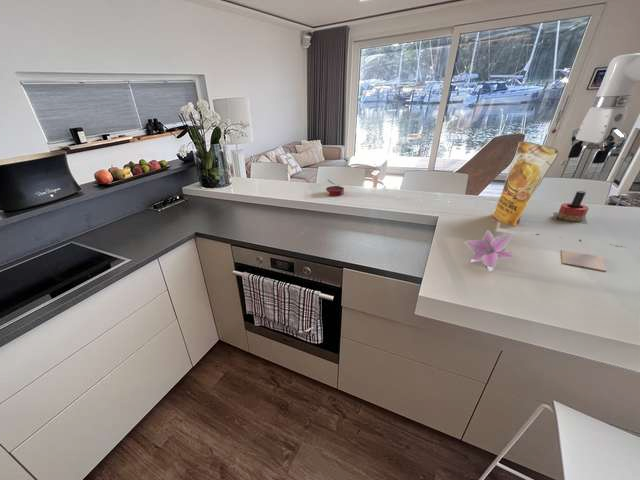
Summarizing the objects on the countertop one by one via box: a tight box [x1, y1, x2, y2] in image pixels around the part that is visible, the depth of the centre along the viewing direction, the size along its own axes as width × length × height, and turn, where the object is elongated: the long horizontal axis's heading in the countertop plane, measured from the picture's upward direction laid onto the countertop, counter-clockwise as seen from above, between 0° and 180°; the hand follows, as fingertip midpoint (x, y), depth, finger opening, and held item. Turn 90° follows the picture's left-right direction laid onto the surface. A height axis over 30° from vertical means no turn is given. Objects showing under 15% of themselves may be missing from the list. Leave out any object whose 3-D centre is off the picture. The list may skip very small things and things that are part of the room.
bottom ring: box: [557, 211, 586, 222], centre depth 106 cm, size 7×7×2 cm
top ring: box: [558, 202, 590, 216], centre depth 105 cm, size 7×7×2 cm
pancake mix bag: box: [492, 140, 559, 227], centre depth 105 cm, size 7×19×28 cm, turn 170°
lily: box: [464, 229, 515, 269], centre depth 86 cm, size 12×12×10 cm
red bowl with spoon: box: [325, 178, 345, 197], centre depth 159 cm, size 11×10×10 cm
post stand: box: [553, 190, 588, 225], centre depth 105 cm, size 9×9×11 cm
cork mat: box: [560, 249, 607, 272], centre depth 84 cm, size 9×9×1 cm
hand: (585, 160), depth 97 cm, fingers open, 9 cm apart
